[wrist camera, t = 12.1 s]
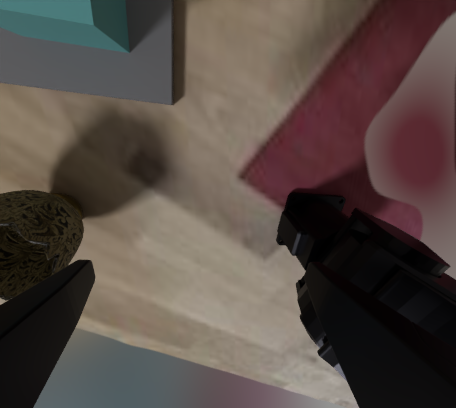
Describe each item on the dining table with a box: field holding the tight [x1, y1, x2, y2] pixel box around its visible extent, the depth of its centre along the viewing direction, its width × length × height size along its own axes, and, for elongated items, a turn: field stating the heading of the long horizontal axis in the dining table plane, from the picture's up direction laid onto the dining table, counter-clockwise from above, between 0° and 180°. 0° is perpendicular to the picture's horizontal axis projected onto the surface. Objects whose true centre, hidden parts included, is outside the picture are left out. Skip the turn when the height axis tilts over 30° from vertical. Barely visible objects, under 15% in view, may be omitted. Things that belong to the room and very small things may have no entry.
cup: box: [0, 190, 84, 300], centre depth 15 cm, size 8×7×8 cm
